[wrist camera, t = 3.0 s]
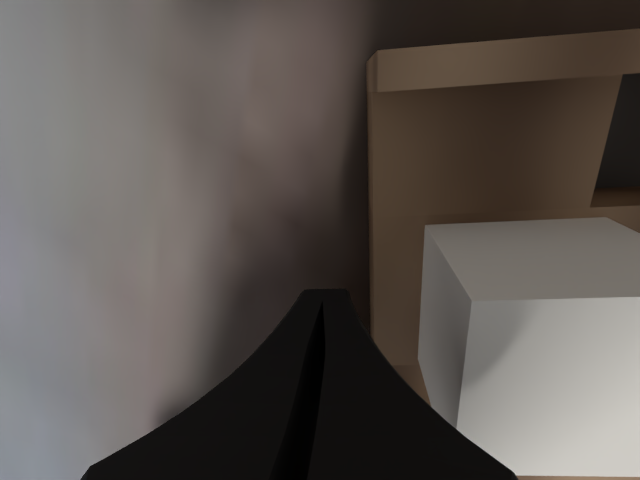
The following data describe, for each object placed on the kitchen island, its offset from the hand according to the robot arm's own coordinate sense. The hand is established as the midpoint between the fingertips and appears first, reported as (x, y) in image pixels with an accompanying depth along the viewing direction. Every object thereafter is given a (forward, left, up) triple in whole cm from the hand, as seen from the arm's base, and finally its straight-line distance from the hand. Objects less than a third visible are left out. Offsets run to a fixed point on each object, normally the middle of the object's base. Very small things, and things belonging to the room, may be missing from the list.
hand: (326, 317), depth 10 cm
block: (+5, 0, -1) cm, 6 cm away
